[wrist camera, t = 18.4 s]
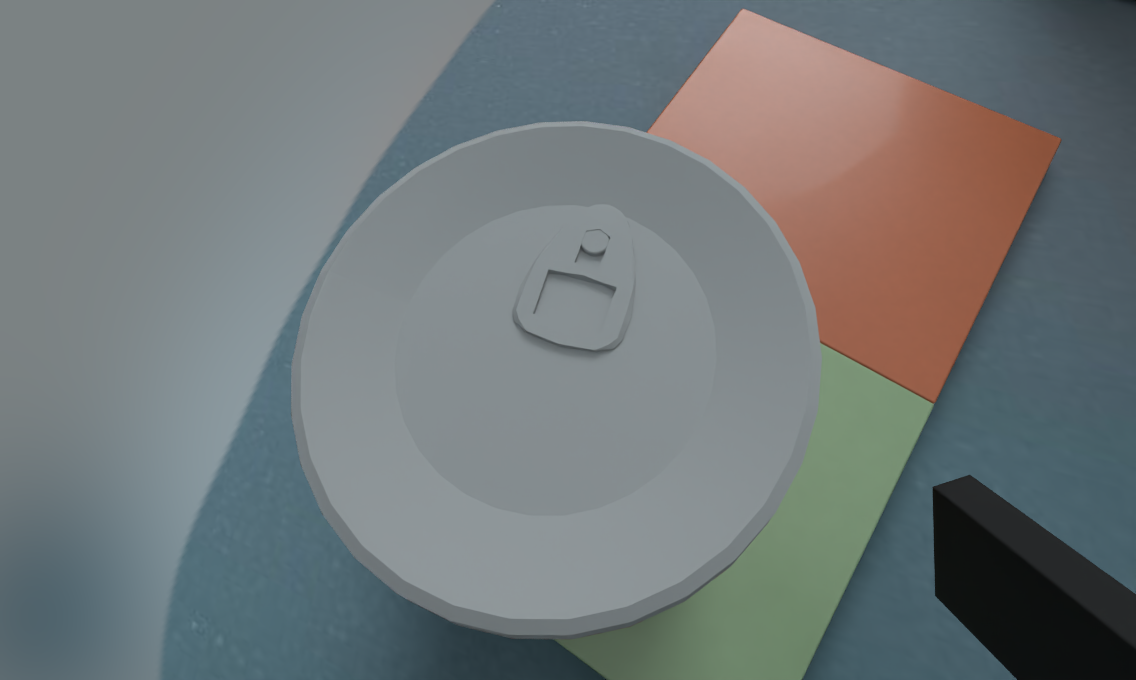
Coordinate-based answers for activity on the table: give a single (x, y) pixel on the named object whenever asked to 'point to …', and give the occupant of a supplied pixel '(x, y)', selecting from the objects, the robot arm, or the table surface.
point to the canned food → (556, 379)
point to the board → (838, 313)
